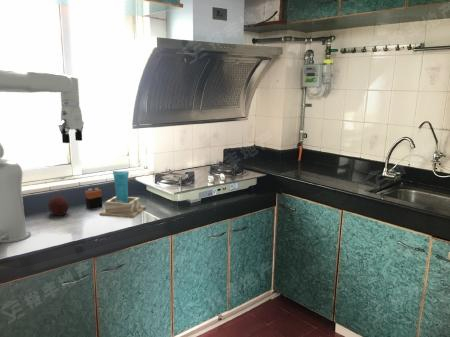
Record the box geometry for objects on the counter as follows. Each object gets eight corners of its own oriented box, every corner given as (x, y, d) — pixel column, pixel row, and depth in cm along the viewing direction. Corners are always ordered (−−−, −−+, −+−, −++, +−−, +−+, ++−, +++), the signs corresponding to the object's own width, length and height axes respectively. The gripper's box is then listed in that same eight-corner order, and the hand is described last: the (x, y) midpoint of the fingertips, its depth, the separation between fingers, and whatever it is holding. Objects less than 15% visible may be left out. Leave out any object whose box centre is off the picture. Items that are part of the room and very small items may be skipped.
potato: (52, 219, 175) (51, 200, 173) (46, 213, 184) (44, 194, 182) (72, 215, 180) (70, 197, 178) (64, 209, 190) (63, 191, 188)
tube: (131, 208, 189) (129, 170, 185) (129, 211, 184) (127, 172, 180) (115, 208, 188) (113, 170, 184) (114, 211, 184) (111, 172, 180)
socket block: (133, 217, 178) (132, 205, 177) (99, 215, 181) (98, 203, 180) (145, 208, 192) (145, 196, 191) (114, 206, 196) (113, 194, 194)
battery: (86, 208, 192) (84, 188, 190) (98, 205, 197) (97, 186, 195) (90, 210, 189) (88, 190, 187) (102, 207, 194) (101, 188, 192)
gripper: (65, 104, 163) (68, 144, 167) (88, 103, 180) (90, 140, 183) (50, 104, 165) (53, 143, 168) (74, 103, 182) (76, 139, 185)
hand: (72, 141), depth 176 cm, fingers open, 9 cm apart
